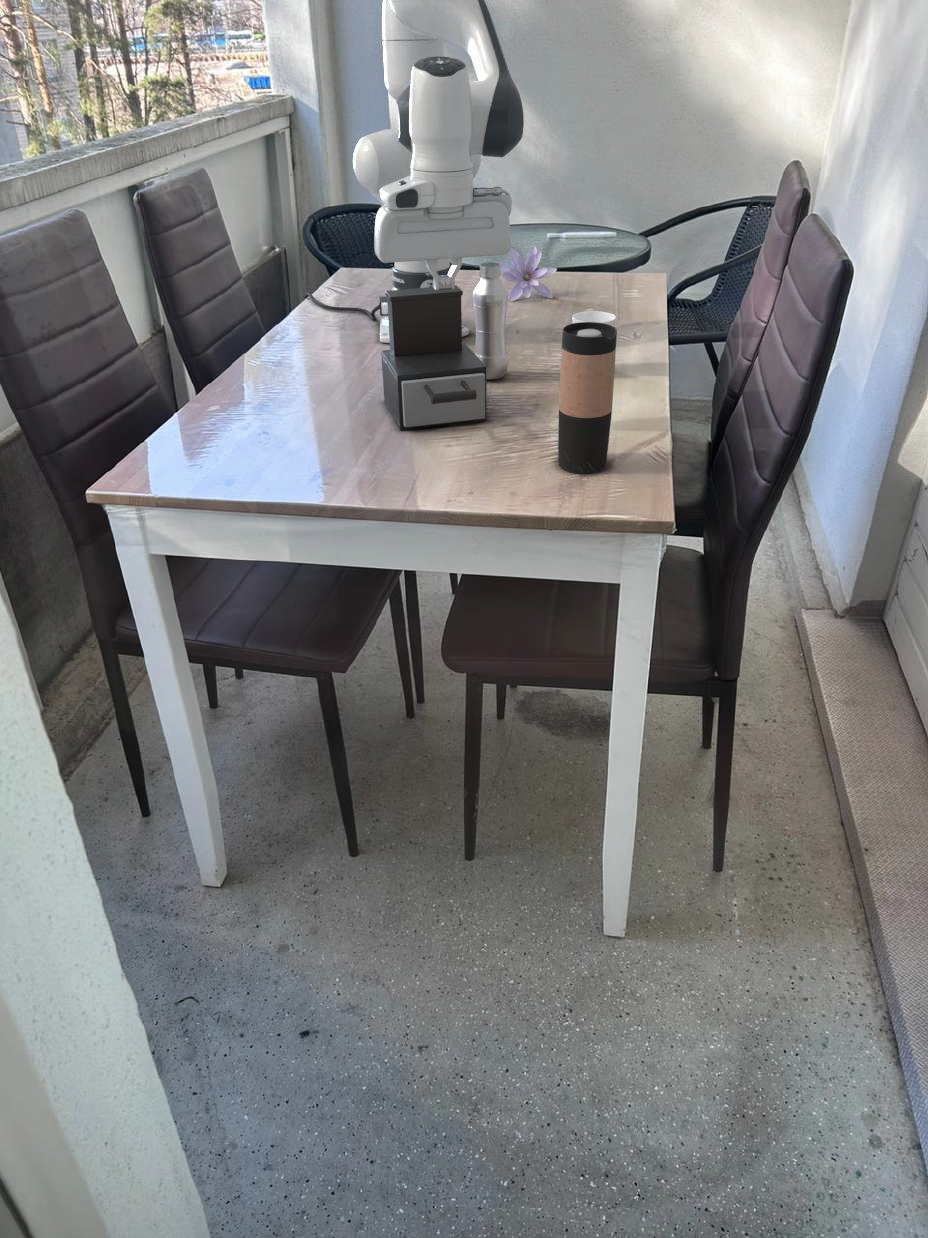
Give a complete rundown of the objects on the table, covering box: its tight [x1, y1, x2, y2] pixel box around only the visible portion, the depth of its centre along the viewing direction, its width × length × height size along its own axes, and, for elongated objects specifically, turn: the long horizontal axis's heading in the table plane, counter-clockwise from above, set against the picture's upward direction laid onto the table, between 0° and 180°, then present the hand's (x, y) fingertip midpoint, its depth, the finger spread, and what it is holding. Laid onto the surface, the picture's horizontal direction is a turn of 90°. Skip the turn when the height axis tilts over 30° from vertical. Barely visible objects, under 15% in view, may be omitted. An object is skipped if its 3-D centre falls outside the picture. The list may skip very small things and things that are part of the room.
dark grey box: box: [380, 342, 488, 431], centre depth 159 cm, size 14×15×9 cm
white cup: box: [571, 310, 617, 328], centre depth 175 cm, size 8×8×10 cm
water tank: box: [384, 284, 464, 356], centre depth 157 cm, size 4×12×10 cm, turn 105°
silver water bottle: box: [471, 261, 509, 380], centre depth 170 cm, size 6×7×20 cm
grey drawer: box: [401, 372, 485, 427], centre depth 155 cm, size 19×13×7 cm
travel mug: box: [557, 322, 618, 475], centre depth 136 cm, size 8×8×20 cm
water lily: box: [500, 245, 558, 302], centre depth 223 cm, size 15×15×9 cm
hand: (444, 288), depth 144 cm, fingers closed
